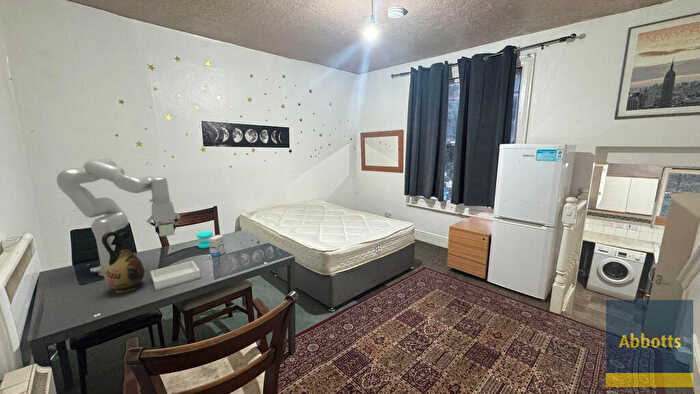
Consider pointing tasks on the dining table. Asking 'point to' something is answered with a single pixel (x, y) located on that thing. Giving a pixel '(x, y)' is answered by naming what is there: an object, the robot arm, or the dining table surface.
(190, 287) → the dining table surface
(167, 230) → the box
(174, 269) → the white shallow tray
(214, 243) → the ink box
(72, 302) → the dining table surface
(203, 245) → the donuts
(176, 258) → the dining table surface
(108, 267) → the ceramic jug
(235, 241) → the dining table surface
